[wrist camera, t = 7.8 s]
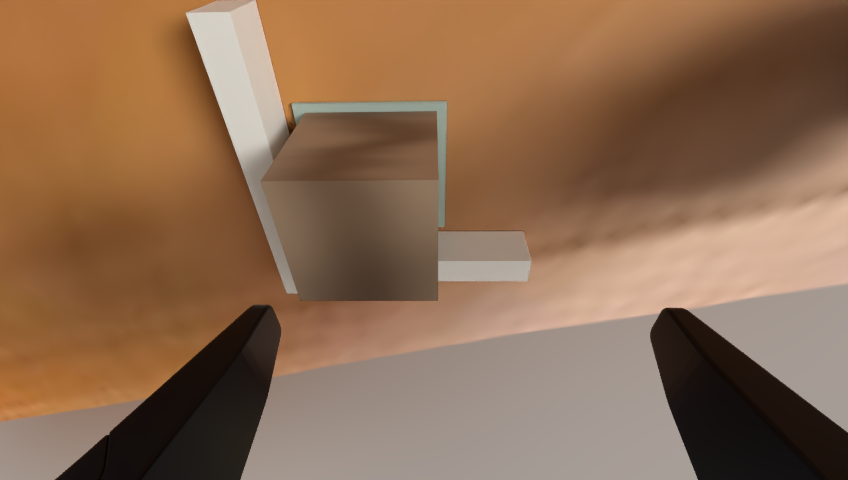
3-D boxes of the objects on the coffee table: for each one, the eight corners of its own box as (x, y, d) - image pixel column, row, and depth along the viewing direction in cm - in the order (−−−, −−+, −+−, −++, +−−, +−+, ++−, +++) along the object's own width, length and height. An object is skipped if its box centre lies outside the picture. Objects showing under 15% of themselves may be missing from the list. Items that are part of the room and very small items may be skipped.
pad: (446, 100, 17) (447, 102, 17) (444, 224, 22) (444, 226, 22) (292, 102, 18) (291, 104, 17) (321, 225, 22) (320, 227, 22)
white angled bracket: (567, -6, 15) (587, 5, 13) (517, 263, 24) (524, 293, 22) (217, 0, 15) (186, 12, 13) (298, 263, 24) (287, 293, 22)
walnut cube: (436, 111, 17) (438, 180, 13) (436, 217, 21) (437, 300, 17) (305, 112, 18) (260, 181, 13) (328, 218, 21) (300, 300, 17)
